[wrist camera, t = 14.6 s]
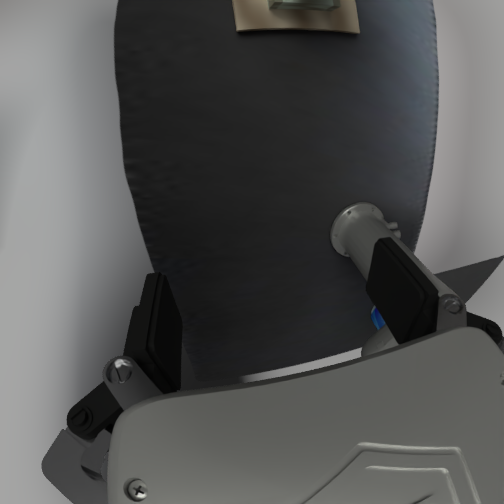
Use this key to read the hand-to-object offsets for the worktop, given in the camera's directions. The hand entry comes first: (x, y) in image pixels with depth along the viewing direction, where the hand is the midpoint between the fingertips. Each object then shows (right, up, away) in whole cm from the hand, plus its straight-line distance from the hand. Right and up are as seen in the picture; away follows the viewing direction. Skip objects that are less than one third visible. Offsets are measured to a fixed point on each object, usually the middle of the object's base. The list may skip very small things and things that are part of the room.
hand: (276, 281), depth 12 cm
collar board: (+5, +44, +14) cm, 47 cm away
